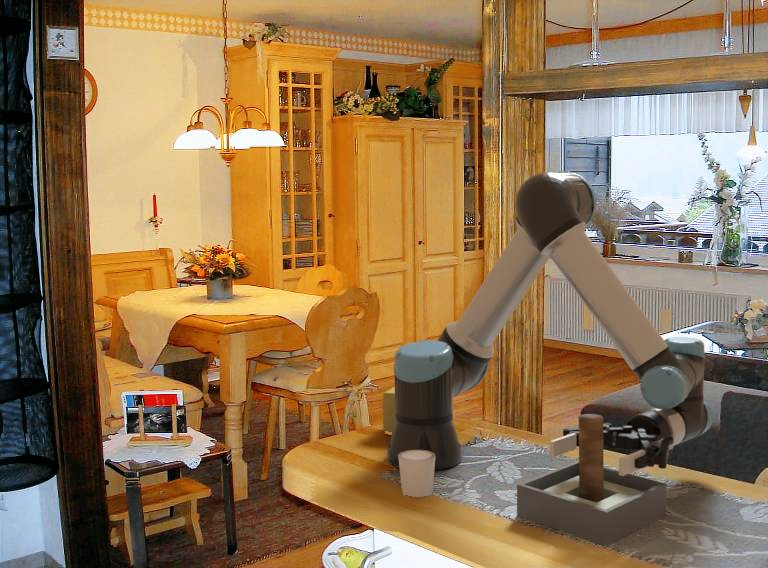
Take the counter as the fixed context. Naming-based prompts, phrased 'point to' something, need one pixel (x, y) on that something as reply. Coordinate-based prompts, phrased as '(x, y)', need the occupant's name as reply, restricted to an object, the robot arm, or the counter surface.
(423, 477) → the white cup
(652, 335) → the robot arm
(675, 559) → the counter surface
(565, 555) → the counter surface
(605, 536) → the open box
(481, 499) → the counter surface
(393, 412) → the cheese
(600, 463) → the peg
